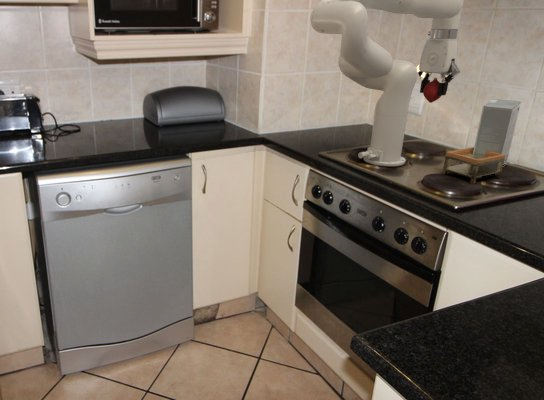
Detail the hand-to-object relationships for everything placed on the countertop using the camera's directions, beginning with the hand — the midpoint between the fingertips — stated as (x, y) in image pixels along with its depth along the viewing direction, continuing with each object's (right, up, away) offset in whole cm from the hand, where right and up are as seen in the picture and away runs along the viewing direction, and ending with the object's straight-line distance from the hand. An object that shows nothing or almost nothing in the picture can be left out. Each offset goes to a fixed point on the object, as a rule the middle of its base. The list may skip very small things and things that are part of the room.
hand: (432, 93), depth 155 cm
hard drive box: (+14, -25, -6) cm, 29 cm away
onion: (0, -3, +1) cm, 3 cm away
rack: (+4, -28, -13) cm, 31 cm away
